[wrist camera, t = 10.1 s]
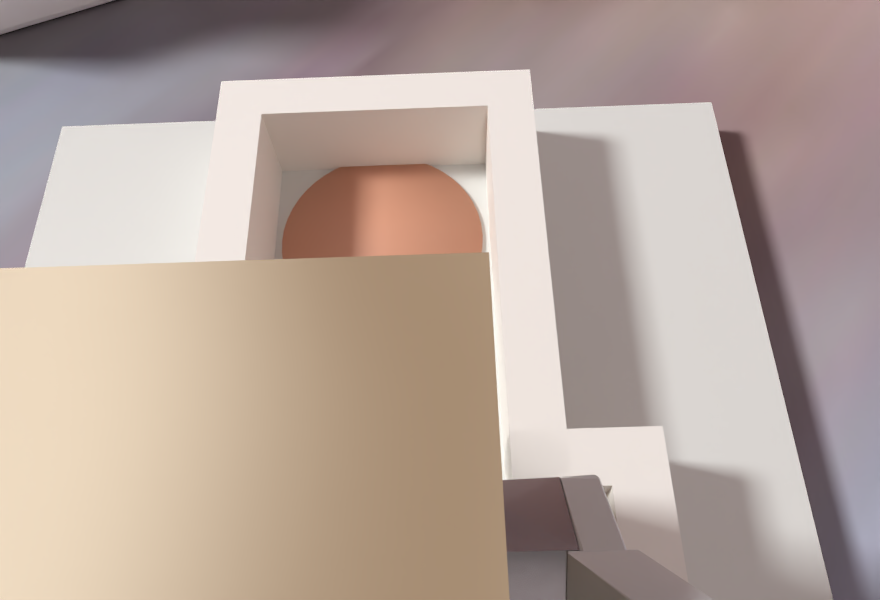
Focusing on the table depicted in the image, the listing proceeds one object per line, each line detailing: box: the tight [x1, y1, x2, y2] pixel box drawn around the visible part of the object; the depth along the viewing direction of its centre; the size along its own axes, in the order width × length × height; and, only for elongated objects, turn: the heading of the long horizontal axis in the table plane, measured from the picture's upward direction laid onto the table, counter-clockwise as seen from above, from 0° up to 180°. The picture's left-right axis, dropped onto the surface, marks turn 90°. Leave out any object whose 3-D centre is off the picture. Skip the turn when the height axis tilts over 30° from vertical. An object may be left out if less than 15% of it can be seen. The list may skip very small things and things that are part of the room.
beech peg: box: [0, 252, 510, 600], centre depth 10 cm, size 4×4×11 cm
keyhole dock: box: [25, 70, 833, 600], centre depth 17 cm, size 20×22×4 cm
